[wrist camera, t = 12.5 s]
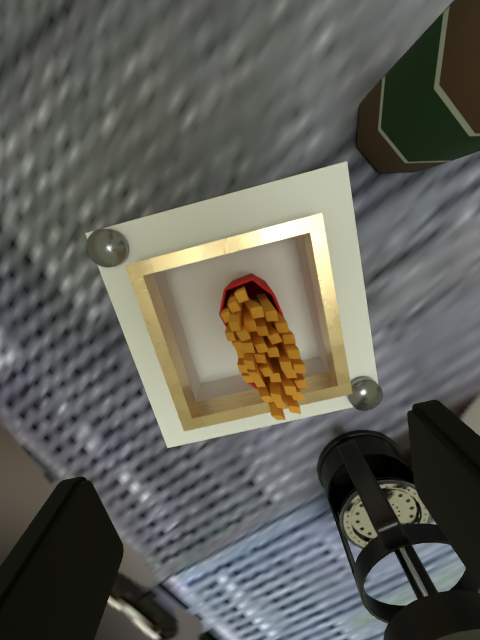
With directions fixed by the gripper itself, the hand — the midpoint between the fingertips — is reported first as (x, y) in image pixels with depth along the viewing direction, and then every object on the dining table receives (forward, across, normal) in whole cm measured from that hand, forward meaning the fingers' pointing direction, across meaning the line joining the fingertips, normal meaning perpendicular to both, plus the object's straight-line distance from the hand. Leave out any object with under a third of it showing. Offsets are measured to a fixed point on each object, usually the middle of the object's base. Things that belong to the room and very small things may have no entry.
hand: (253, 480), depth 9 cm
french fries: (+20, -1, +1) cm, 20 cm away
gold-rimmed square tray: (+21, 0, +1) cm, 21 cm away
